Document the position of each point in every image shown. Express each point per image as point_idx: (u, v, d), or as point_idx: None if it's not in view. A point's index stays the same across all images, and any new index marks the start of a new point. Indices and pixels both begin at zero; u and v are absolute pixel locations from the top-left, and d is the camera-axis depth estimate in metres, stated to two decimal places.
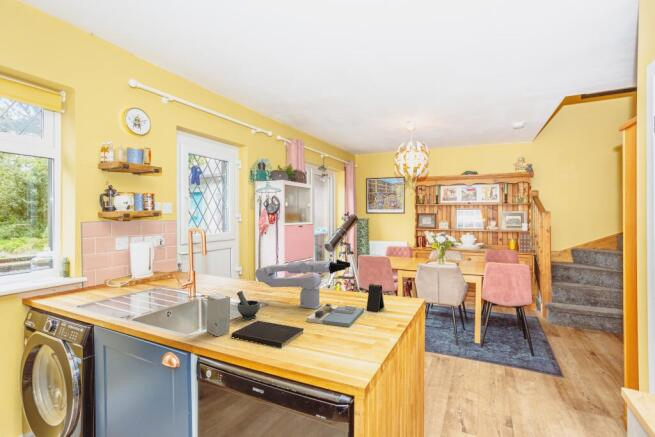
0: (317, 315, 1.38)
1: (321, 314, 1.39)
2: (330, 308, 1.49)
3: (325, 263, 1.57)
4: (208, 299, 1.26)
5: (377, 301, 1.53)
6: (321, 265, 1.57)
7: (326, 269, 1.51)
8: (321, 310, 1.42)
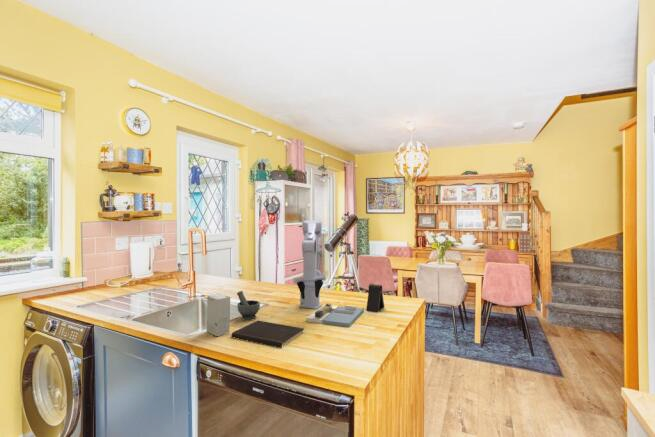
0: (317, 315, 1.38)
1: (321, 314, 1.39)
2: (330, 308, 1.49)
3: (306, 274, 1.38)
4: (208, 299, 1.26)
5: (377, 301, 1.53)
6: (304, 270, 1.39)
7: None
8: (321, 310, 1.42)
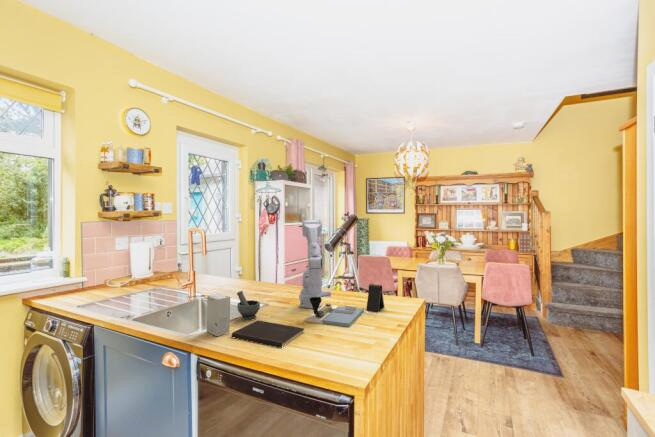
0: (318, 315, 1.38)
1: (322, 314, 1.39)
2: (330, 308, 1.49)
3: (312, 291, 1.39)
4: (208, 299, 1.26)
5: (377, 301, 1.53)
6: (310, 286, 1.40)
7: (299, 297, 1.39)
8: (321, 310, 1.42)
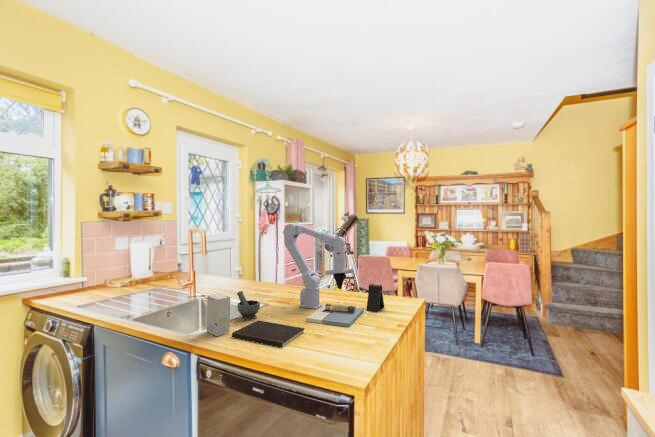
0: (354, 309, 1.47)
1: None
2: None
3: (337, 267, 1.56)
4: (208, 299, 1.26)
5: (377, 301, 1.53)
6: (335, 263, 1.56)
7: (325, 272, 1.56)
8: (346, 306, 1.48)
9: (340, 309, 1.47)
